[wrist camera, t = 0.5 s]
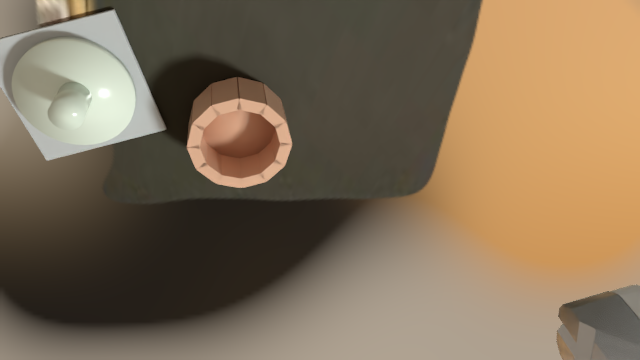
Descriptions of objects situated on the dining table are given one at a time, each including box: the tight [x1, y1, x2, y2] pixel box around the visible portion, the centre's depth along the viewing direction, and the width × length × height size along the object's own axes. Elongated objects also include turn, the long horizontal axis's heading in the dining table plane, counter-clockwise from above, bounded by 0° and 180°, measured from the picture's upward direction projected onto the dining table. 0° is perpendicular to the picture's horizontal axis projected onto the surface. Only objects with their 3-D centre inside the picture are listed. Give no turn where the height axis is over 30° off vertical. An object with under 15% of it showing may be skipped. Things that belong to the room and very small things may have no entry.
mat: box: [0, 9, 166, 161], centre depth 51 cm, size 13×13×1 cm
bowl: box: [187, 77, 292, 188], centre depth 55 cm, size 10×10×5 cm
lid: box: [12, 36, 136, 145], centre depth 49 cm, size 11×11×5 cm
